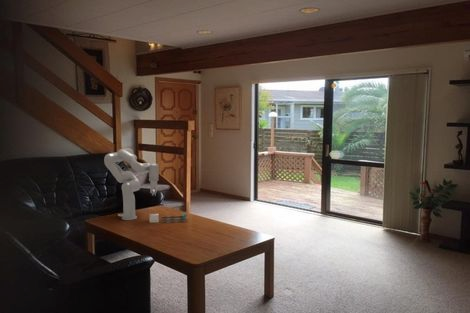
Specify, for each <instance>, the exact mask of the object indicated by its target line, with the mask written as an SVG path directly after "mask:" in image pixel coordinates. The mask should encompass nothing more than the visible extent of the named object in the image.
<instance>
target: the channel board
mask: <svg viewBox="0 0 470 313" xmlns="http://www.w3.org/2000/svg"><path fill="white" fill-rule="evenodd" d="M181 213H182V215H168V216H167V215H165V216H164V215H162V216H161V224H171V223H172V224H176V223H178V224H179V223H188V222H187V212H181Z"/></svg>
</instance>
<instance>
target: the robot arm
mask: <svg viewBox="0 0 470 313" xmlns="http://www.w3.org/2000/svg"><path fill="white" fill-rule="evenodd" d="M137 159H138V157H137V155H136V154H134V150H133V149H132V148H129V147H128V148H121V149H118V150H117V152H116V151H115V152H110V153H107V154H105V156H104V159H103V160H104V161H103V162H104V165H105V167H106V168H107V169H108V170H109V171H110V173H111V174H112V176H113V177H114V178H115V179H116V181H117V182H118V183H120V184H121V183H122V184H121V191H122V202H123V207H122V210H123V213H117V216H118V217H121V219H122V220H124V221H133V220H136V219H137V218H138V216H137V215H136V198H135V194H134V192H137V191H139V190H140V189H141V186H142V185H141V182H140V181H139V179H138V178H137V177H136V175H135V174H134V172H132V171H131V170H123V169H122V168H121V166H120V165H119V164H117V163H121V162H123V161H124V162H126V163H128V164H129V166H130V167H131V169H133V171H135V172H137V173H140V174H142V173H148V177H149V178H148V181H149V182H150V184H149V185H150V187H149V188H150V191H149V192H150V194H151V201H152V202H156V201H157V192H158V181H159V164H158V163H154V162H143V163H141V162H138V161H137Z"/></svg>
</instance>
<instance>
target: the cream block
mask: <svg viewBox="0 0 470 313" xmlns="http://www.w3.org/2000/svg"><path fill="white" fill-rule="evenodd" d="M159 216H160V215H159V213H150V214H149V223H159V222H160V219H159Z"/></svg>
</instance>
